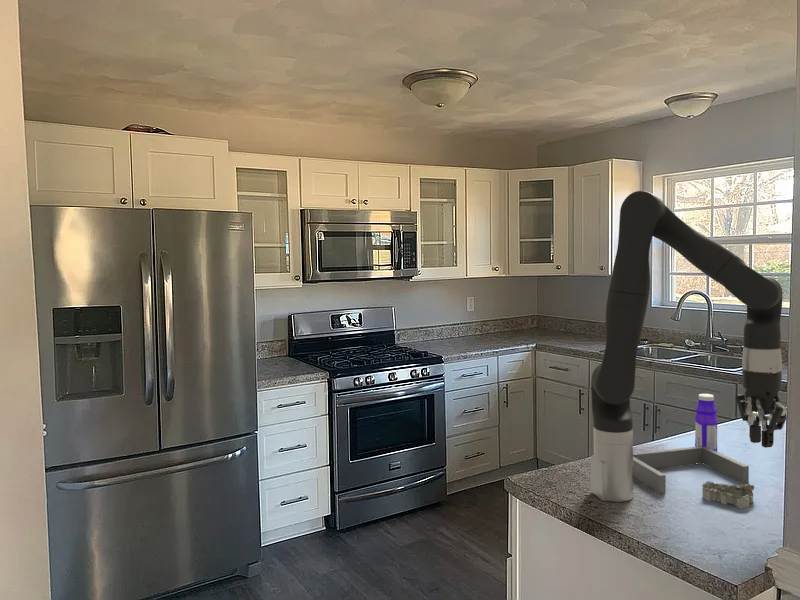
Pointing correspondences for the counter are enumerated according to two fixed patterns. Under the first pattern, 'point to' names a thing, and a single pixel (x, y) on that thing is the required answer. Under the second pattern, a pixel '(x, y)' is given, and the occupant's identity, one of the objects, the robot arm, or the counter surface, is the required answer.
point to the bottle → (706, 422)
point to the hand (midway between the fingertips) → (761, 444)
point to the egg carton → (729, 493)
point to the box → (684, 456)
